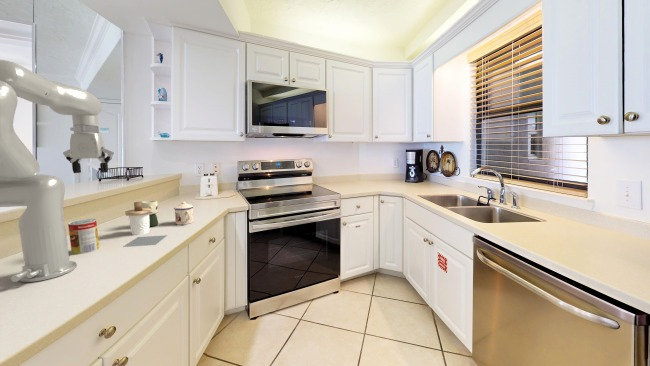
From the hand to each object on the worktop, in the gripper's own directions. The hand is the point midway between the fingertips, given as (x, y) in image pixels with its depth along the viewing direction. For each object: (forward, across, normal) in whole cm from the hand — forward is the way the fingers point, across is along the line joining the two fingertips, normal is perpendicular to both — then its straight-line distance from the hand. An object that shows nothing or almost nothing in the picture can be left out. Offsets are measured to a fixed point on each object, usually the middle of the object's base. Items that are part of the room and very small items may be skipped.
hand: (91, 172), depth 104 cm
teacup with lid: (+30, +26, +26) cm, 47 cm away
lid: (+20, +11, +10) cm, 25 cm away
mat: (+30, +20, -2) cm, 36 cm away
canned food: (+30, +2, -10) cm, 32 cm away
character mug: (+30, +10, +23) cm, 39 cm away
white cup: (+30, +11, +10) cm, 34 cm away
